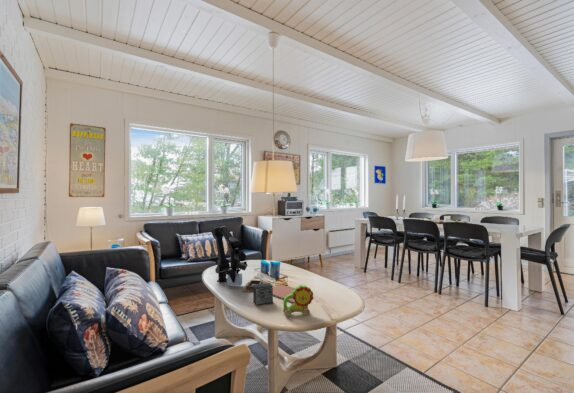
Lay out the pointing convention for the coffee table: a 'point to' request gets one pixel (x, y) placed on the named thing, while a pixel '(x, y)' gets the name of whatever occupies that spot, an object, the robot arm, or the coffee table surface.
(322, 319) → the coffee table surface
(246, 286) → the keyed nest
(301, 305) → the toy lion
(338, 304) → the coffee table surface
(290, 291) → the notebook
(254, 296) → the small box
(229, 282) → the key block
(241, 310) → the coffee table surface
